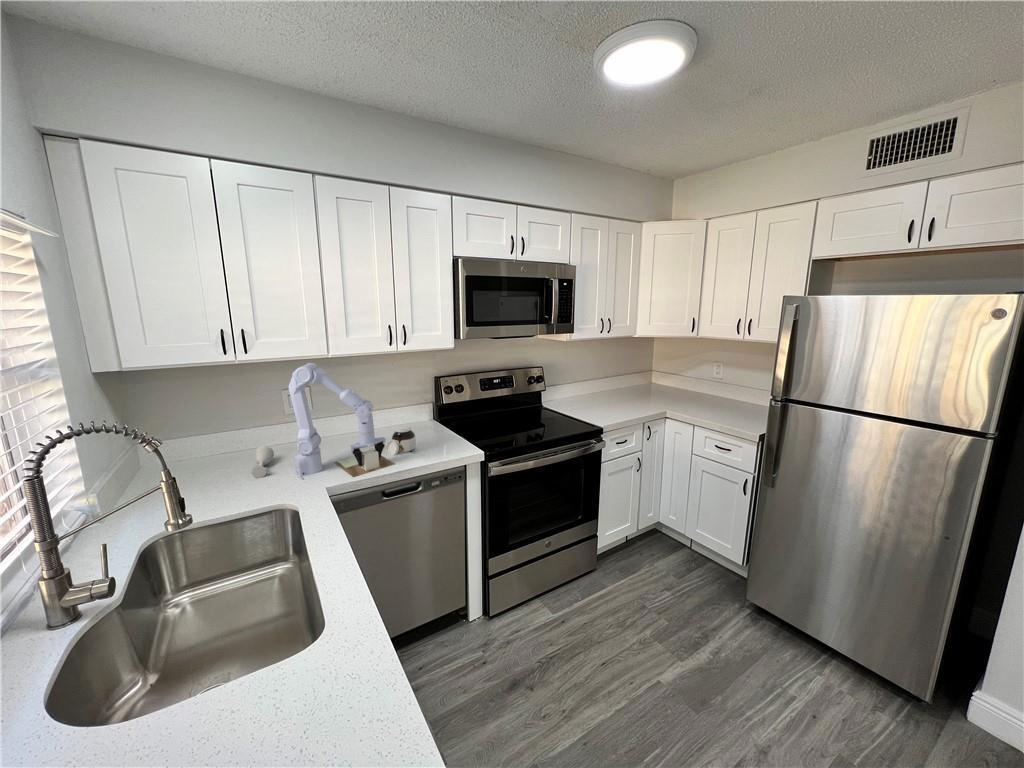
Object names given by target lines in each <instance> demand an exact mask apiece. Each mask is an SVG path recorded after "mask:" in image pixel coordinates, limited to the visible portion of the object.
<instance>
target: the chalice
mask: <svg viewBox="0 0 1024 768" xmlns="http://www.w3.org/2000/svg"><path fill="white" fill-rule="evenodd" d="M274 456H275V451H274V449H272V447H270V446H267V445H262V446H258V447H257V448H256V449H255V452H254V459H255V462H256V464H258V465H256V466H255V467H252V469H251V475H252V477H254V478H256V479H257V478H258V479H260V478H263V477H264V476H266V474H267V469H266V468H265V466H266V465H268V464H269V463H271V461H272V459H273V458H274Z"/></svg>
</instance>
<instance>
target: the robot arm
mask: <svg viewBox="0 0 1024 768" xmlns="http://www.w3.org/2000/svg"><path fill="white" fill-rule="evenodd" d="M291 375H292V376H291V379H290V382H289V384H288V391H289V395H290V400H291V404H292V409H293V412H294V416H295V420H296V424H297V429H298V434H297V445H296V449H297V451H298V454H296V455H294V457H293V462H294V469H295V475H297V477H298V478H299V479H301V480H304V479H305V478H304V477H306V476H310V475H315V474H318V473H320V472H322V471H323V462H322V454H321V448H320V444H321V443H322V437H321V436H320V434H319V432H318V431H317V428H316V427H315V426H314V424H313V419H312V415H311V411H310V407H309V403H308V398H307V394H306V389H305V388H306V387H308V385H309V384H310V383H311V384H318V385H320V384H322V385H323V386H325V387H326V388H327V389H329V390H330V391H332V392H333V393H335V394H337V395H338V396H339V399H340V400H339V401H340V402H342V403H343V404H344V405H346V406H347V407H348V408H349V409H350V410H352V411H354V413H355V415H356V417H357V420H358V421H357V424H358V425H357V426H358V435H359V441H358V442H355V443H353V444H351V445H348V449H349V451H350V452H351V453H352V454H353V455H354V456H353V457H356V459H357V462H358V465H359V466H360V467H362V452H361V451H362V450H361V449H364V448H368V447H373V446H374V450H376V451H378V456H379V461H380V458H381V456H382V454H383V451H384V448H386V445H385V443H386V438H385V437H384V436H382V437H381V436H380V437H375V425H374V418H373V411H374V404H373V403H372V402H371V401H370V400H367V399H366V398H362V397H361V396H360V395H359V394H358V393H357V391H356V390H355V389H353V390H352V389H350V388H347V389H346V388H344V387H343V386H342V385H341V384H340V383H338V382H337V381H336V380H335V379H334V378H333V377H332V376H331V375H329V374H328V373H327V372H326V371H325V370H324V369H323V368H321V367H319V366H318V364H316V363H314V362H313V363H312V362H308V363H306V364H305V365H302V366H299V367H297V368H296V369H295V370H294V371H293V372H292V374H291Z"/></svg>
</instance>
